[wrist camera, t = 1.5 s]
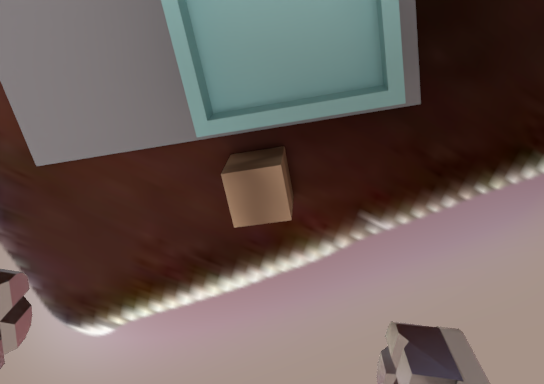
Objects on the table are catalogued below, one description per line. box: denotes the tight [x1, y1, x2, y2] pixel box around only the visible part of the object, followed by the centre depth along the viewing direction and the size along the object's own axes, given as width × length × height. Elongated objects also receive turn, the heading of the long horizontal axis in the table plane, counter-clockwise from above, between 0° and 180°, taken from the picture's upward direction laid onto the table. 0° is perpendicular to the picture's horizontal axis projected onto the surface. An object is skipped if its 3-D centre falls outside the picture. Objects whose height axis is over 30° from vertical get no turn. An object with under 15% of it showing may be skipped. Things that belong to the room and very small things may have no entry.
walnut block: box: [221, 146, 294, 228], centre depth 35 cm, size 4×4×4 cm
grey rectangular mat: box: [0, 0, 421, 166], centre depth 32 cm, size 32×18×1 cm, turn 101°
